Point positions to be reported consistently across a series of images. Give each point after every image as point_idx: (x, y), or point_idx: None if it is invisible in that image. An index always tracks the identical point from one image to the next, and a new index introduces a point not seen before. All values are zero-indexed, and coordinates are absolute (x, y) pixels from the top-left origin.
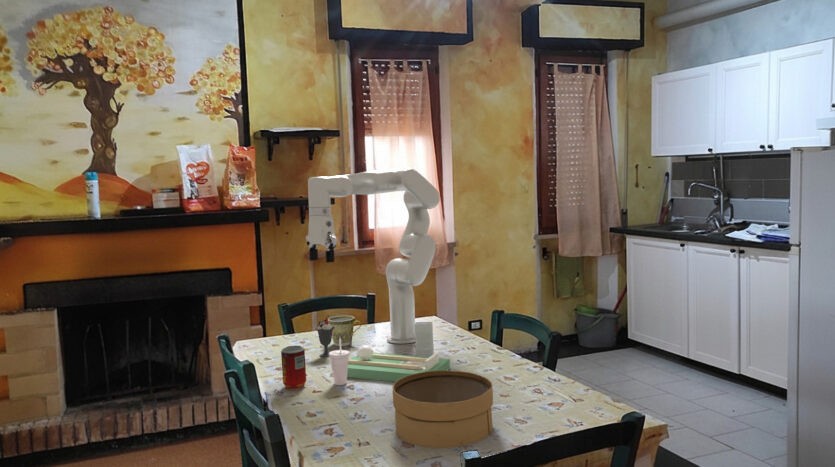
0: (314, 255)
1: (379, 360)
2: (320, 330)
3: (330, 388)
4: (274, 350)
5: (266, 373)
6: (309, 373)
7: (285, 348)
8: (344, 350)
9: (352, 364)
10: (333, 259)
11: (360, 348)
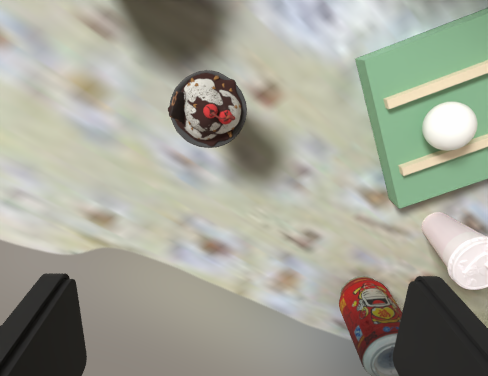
0: (55, 367)
1: (474, 96)
2: (223, 143)
3: (437, 256)
4: (26, 158)
5: (223, 282)
6: (312, 224)
7: (376, 370)
8: (481, 244)
9: (425, 170)
10: (447, 300)
11: (450, 146)
